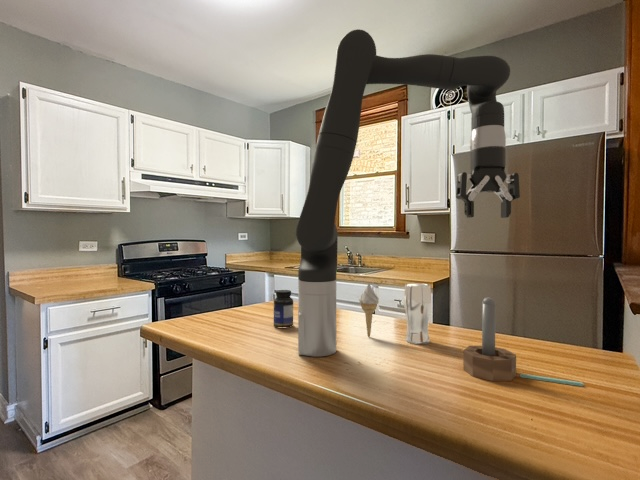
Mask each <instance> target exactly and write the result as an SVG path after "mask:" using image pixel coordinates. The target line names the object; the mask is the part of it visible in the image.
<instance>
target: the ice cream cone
mask: <svg viewBox="0 0 640 480" xmlns="http://www.w3.org/2000/svg"><path fill="white" fill-rule="evenodd" d="M358 301H359V303H360V308H361V309H362V311H363V312H364V314H365V325H366V333H367V337H368V338H370V337H371V331H372V323H373V313H374V312H375V311H376V310H377V306H378V304H379V302H380V301H379V297H378V295H377V294H376V293H375V290H373V288H372V287H371V284H370V283H368V284H367V286H366V287H365V289H364V290H363V292H362V293H361V295H360V297H359V298H358Z"/></svg>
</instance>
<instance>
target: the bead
mask: <svg viewBox="0 0 640 480" xmlns="http://www.w3.org/2000/svg"><path fill="white" fill-rule="evenodd" d="M462 351H463V353H462V354H463V355H462V356H463V357H462V358H463V367H462V368H463V370H464V371H465V372H467V373H468V374H469V376H472V377H474V378H478V379H482V380H486V381H491V382H510V381H511V382H512V381H513V379H515V377H516V376H517V354H516V353H513V352H512V351H510V350H507V349H505V348H502V347H497V346H495V357H490V356H486V355H482V345H469V346H468V345H467V347H465V348H464V349H463V350H462Z"/></svg>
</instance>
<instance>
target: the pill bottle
mask: <svg viewBox="0 0 640 480" xmlns="http://www.w3.org/2000/svg"><path fill="white" fill-rule="evenodd" d="M291 295H292V291H291V290H290V289H277V290H276V291H275V296H276V298H275V299H273V327H274V326H276V327H289V328H291V327H290V326H292V325H293V326H294V299H293V298H292V297H291ZM293 326H292V327H293ZM276 327H275V328H276Z"/></svg>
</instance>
